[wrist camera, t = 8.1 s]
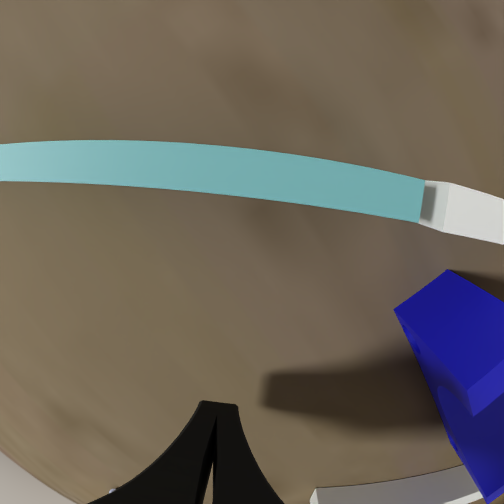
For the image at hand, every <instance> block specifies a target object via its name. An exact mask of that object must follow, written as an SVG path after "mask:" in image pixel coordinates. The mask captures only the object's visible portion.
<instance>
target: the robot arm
mask: <svg viewBox="0 0 504 504" xmlns="http://www.w3.org/2000/svg"><path fill="white" fill-rule="evenodd" d="M212 463H213V503H212V504H284V503H283V501H282V500H281V499H280V498H279V497H278V495H277V494H276V493H275V491H274V490H273V489H272V487H271V486H270V484H269V483H268V481H267V480H266V478H265V477H264V475H263V473H262V472H261V470H260V468H259V466H258V464H257V462H256V460H255V458H254V456H253V454H252V452H251V450H250V448H249V445H248V443H247V440H246V437H245V435H244V432H243V429H242V425H241V422H240V417H239V411H238V406H237V405H236V404H228V403H219V402H212V401H204V400H202V401H201V402H199V404H198V407H197V409H196V411H195V412H194V414H193V416H192V417H191V419H190V420H189V422H188V423H187V425H186V426H185V427H184V429H183V430H182V432H181V433H180V434H179V436H178V437H177V438H176V439H175V440H174V441H173V443H172V444H171V445H170V446H169V447H168V448H167V449H166V450H165V452H164V453H163V454H162V455H161V456H160V457H159V458H158V459H156V460H155V461H154V462H153V463H152V464H151V465H150V466H149V467H147V468H146V469H145V470H144V471H142V472H141V473H140V474H139V475H137V476H136V477H135V478H133V479H132V480H130V481H129V482H127V483H126V484H124V485H122V486H121V487H119V488H118V489H111V490H110V492H109V494H107V495H105V496H103V497H101V498H99V499H97V500H94V501H92V502H90V503H88V504H203V500H204V496H205V492H206V488H207V484H208V480H209V476H210V472H211V467H212Z"/></svg>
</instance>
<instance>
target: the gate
mask: <svg viewBox="0 0 504 504" xmlns="http://www.w3.org/2000/svg"><path fill="white" fill-rule="evenodd" d="M0 181H34V182H65V183H87V184H105V185H121V186H136V187H149V188H161V189H173V190H184V191H195V192H205V193H215V194H224V195H234V196H242V197H251V198H259V199H268V200H275V201H283V202H291V203H298V204H305V205H313V206H320V207H326V208H333V209H340V210H346V211H353V212H359V213H365V214H371V215H377V216H383V217H389V218H394V219H400V220H406V221H411V222H416V223H419V218H420V212H421V206H422V200H423V193H424V186H425V180H421V179H417V178H413V177H409V176H405V175H400V174H396V173H391V172H387V171H382V170H378V169H373V168H368V167H363V166H358V165H353V164H347V163H342V162H336V161H331V160H325V159H319V158H313V157H306V156H300V155H293V154H286V153H279V152H271V151H263V150H255V149H246V148H237V147H227V146H216V145H204V144H191V143H176V142H157V141H127V140H73V141H44V142H27V143H13V144H1V145H0Z"/></svg>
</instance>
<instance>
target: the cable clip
mask: <svg viewBox="0 0 504 504" xmlns="http://www.w3.org/2000/svg"><path fill="white" fill-rule="evenodd" d="M394 312H395V314H396V316H397V318H398V320H399V322H400V324H401V326H402V328H403V330H404V332H405V334H406V336H407V339H408V341H409V343H410V345H411V347H412V349H413V352H414V354H415V356H416V358H417V360H418V363H419V365H420V367H421V370H422V372H423V374H424V377H425V379H426V381H427V384H428V386H429V388H430V391H431V393H432V396H433V398H434V401H435V403H436V406H437V408H438V411H439V413H440V416H441V419H442V421H443V424H444V427H445V429H446V432H447V435H448V438H449V440H450V443H451V445H452V446H453V448H454V449H455V451H456V453H457V454H458V456H459V457H460V459H461V461H462V462H463V464H464V466H465V467H466V469H467V471H468V472H469V474H470V476H471V477H472V479H473V481H474V482H475V484H476V486H477V487H478V489H479V491H480V493H481V494H482V496H483V498H484V500H485V501H486V503H487V504H489V503H490V502H492V501H493V500H494V499H496V498H497V497H499V496H500V495H501V494H503V493H504V302H502V301H501V300H499V299H497V298H496V297H494V296H492V295H491V294H489V293H488V292H486V291H484V290H483V289H481V288H479V287H478V286H476V285H474V284H472V283H471V282H469V281H467V280H466V279H464V278H462V277H460V276H459V275H457V274H455V273H453V272H452V271H450V270H448V269H447V270H446V271H445V272H444V273H442V274H441V275H440V276H438V277H437V278H436V279H434V280H433V281H432V282H430V283H429V284H428V285H426V286H425V287H424V288H422V289H421V290H420V291H418V292H417V293H416V294H414V295H413V296H412V297H410V298H409V299H407V300H406V301H405V302H403V303H402V304H400V305H399V306H397V307H396V308H395V309H394Z"/></svg>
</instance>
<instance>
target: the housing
mask: <svg viewBox="0 0 504 504" xmlns="http://www.w3.org/2000/svg"><path fill="white" fill-rule="evenodd" d="M419 224H422V225H425V226H427V227H430V228H433V229H436V230H439V231H441V232H446V233H451V234H456V235H461V236H466V237H471V238H476V239H481V240H485V241H490V242H495V243H499V244H504V199H501V198H498V197H495V196H492V195H489V194H486V193H483V192H480V191H476V190H473V189H470V188H467V187H463V186H460V185H456V184H453V183H448V182H437V181H426V180H425V186H424V193H423V200H422V206H421V212H420V218H419ZM480 498H483V496H482V494H481V493H480V491H479V489H478V487H477V486H476V484H475V482H474V481H473V479H472V477H471V476H470V474H469V472H468V471H467V469H466V467H465V466H464V465H461V466H458V467H454V468H450V469H446V470H442V471H438V472H434V473H430V474H425V475H421V476H416V477H411V478H405V479H400V480H394V481H387V482H380V483H373V484H364V485H355V486H344V487H329V488H315V490H314V492H313V494H312V496H311V498H310V504H467V503H470V502H473V501H475V500H478V499H480Z"/></svg>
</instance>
